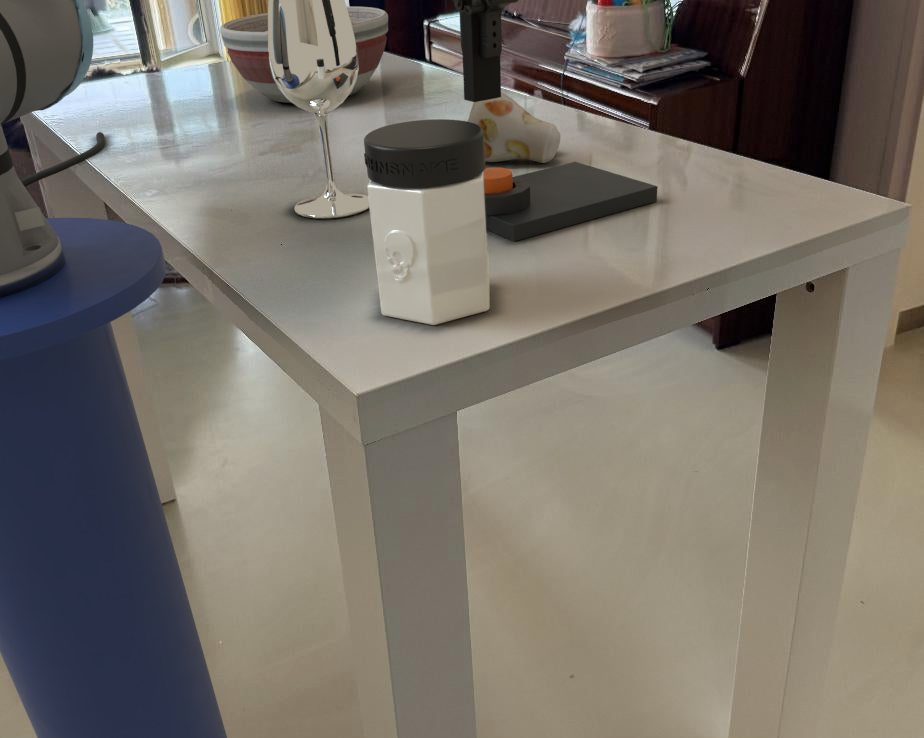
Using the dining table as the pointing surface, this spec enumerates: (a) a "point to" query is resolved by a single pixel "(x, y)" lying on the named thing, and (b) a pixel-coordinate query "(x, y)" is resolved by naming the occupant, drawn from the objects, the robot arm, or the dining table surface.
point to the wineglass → (316, 80)
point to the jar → (429, 219)
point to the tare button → (498, 180)
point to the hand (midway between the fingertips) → (482, 98)
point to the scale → (562, 199)
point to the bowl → (252, 52)
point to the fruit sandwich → (513, 131)
